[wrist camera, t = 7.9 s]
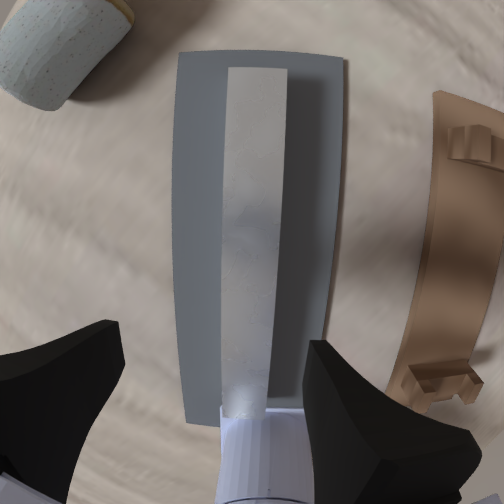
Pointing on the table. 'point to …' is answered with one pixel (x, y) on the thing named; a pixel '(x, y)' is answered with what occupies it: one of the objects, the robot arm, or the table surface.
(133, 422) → the table surface
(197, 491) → the table surface
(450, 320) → the walnut standards
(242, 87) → the steel rail
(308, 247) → the rubber mat
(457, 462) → the robot arm
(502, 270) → the table surface
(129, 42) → the table surface
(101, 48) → the ceramic mug
